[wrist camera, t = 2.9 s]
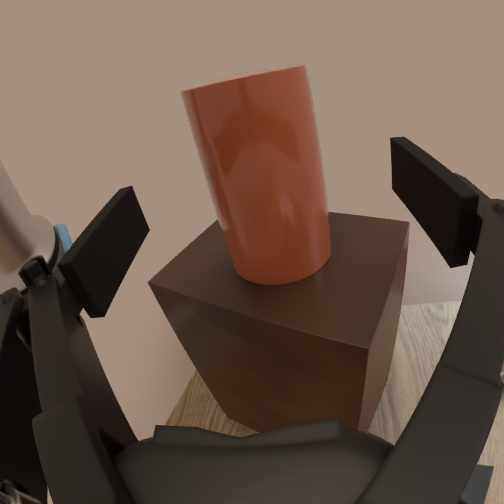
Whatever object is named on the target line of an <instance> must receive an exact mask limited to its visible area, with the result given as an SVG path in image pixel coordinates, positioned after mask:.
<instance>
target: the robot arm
mask: <svg viewBox="0 0 504 504" xmlns="http://www.w3.org/2000/svg"><path fill="white" fill-rule="evenodd" d="M390 143H391V164H392V189H393V191H394V192H395V193H396V194H397V196H398V197H399V198H400V199H401V200H402V202H403V203H404V204H405V205H406V207H407V208H408V209H409V211H410V212H411V213H412V215H413V216H414V217H415V219H416V220H417V221H418V222H419V224H420V225H421V227H422V228H423V229H424V231H425V232H426V233H427V235H428V236H429V237H430V239H431V240H432V242H433V243H434V244H435V246H436V247H437V249H438V250H439V252H440V253H441V255H442V256H443V258H444V259H445V261H446V262H447V264H448V265H449V267H450V268H454V267H458V266H463V265H467V263H468V259H469V254H470V250H471V252H472V253H473V254H474V255H475V258H474V262H473V266H472V269H471V273H470V277H469V280H468V283H467V287H466V290H465V293H464V296H463V299H462V302H461V306H460V308H459V311H458V314H457V317H456V320H455V323H454V325H453V328H452V331H451V333H450V336H449V339H448V341H447V344H446V346H445V349H444V351H443V353H442V356H441V358H440V360H439V363H438V364H437V366H436V368H435V370H434V372H433V375H432V377H431V379H430V381H429V383H428V385H427V387H426V389H425V391H424V393H423V395H422V397H421V399H420V401H419V403H418V405H417V407H416V409H415V411H414V413H413V414H412V416H411V418H410V420H409V422H408V423H407V425H406V427H405V429H404V430H403V432H402V434H401V436H400V437H399V439H398V441H397V442H396V444H395V445H392V444H391V443H389V442H387V441H386V440H384V439H382V438H380V437H378V436H375V435H373V434H370V433H367V432H363V431H359V430H353V429H344V428H341V425H340V417H336V418H329V419H322V420H314V421H306V422H297V423H290V424H287V425H284V426H280V427H277V428H274V429H271V430H267V431H264V432H260V433H257V434H253V435H250V436H246V437H235V436H230V435H226V434H222V433H218V432H213V431H210V430H206V429H202V428H198V427H184V426H163V425H156V426H155V431H154V436H153V437H151V438H147V439H144V440H141V441H138V440H137V438H136V436H135V435H134V433H133V431H132V429H131V427H130V425H129V423H128V421H127V419H126V417H125V415H124V414H123V412H122V410H121V407H120V405H119V403H118V401H117V399H116V397H115V395H114V393H113V391H112V388H111V386H110V384H109V382H108V379H107V377H106V375H105V373H104V370H103V368H102V366H101V363H100V361H99V358H98V356H97V353H96V351H95V348H94V346H93V343H92V341H91V338H90V335H89V333H88V330H87V327H86V324H85V322H84V320H83V318H82V317H81V315H80V312H81V310H82V308H84V309H85V311H86V312H87V314H88V315H89V316H90V318H98V317H105V315H106V313H107V311H108V308H109V306H110V304H111V302H112V300H113V298H114V296H115V294H116V292H117V290H118V288H119V286H120V284H121V282H122V280H123V279H124V277H125V275H126V273H127V271H128V269H129V267H130V265H131V263H132V261H133V260H134V258H135V256H136V254H137V252H138V250H139V248H140V247H141V245H142V243H143V241H144V239H145V238H146V236H147V234H148V232H149V231H150V229H149V227H148V225H147V222H146V220H145V217H144V215H143V212H142V210H141V208H140V205H139V203H138V200H137V198H136V195H135V192H134V190H133V187H132V186H129V187H126V188H122V189H119V191H118V192H117V193H116V194H115V195H114V196H113V197H112V198H111V199H110V201H109V202H108V203H107V204H106V205H105V206H104V207H103V209H102V210H101V211H100V212H99V213H98V214H97V215H96V217H95V218H94V219H93V220H92V221H91V223H90V224H89V225H88V226H87V227H86V228H85V230H84V231H83V232H82V233H81V235H80V236H79V237H78V238H77V240H76V241H75V242H74V243H72V241H71V238H70V236H69V233H68V230H67V228H66V226H65V225H64V224H59V225H55V226H53V227H52V225H51V224H50V222H49V221H48V220H47V219H46V218H44V217H42V216H39V215H31V214H30V212H29V211H28V209H27V207H26V206H25V204H24V202H23V200H22V199H21V197H20V195H19V194H18V192H17V190H16V188H15V186H14V185H13V183H12V181H11V179H10V177H9V176H8V174H7V172H6V170H5V168H4V166H3V164H2V162H1V160H0V504H47V491H48V490H47V489H49V492H50V495H51V498H52V501H53V504H470V503H468V502H467V501H466V500H464V499H463V498H461V496H462V494H463V492H464V490H465V488H466V486H467V484H468V482H469V480H470V478H471V476H472V473H473V471H474V469H475V467H476V465H477V462H478V460H479V458H480V455H481V453H482V451H483V448H484V446H485V443H486V441H487V438H488V435H489V433H490V430H491V427H492V424H493V421H494V418H495V415H496V412H497V409H498V406H499V403H500V399H501V395H502V386H500V385H498V382H499V378H500V374H501V370H502V366H503V362H504V200H500V199H490V198H489V197H488V196H486V195H485V194H484V193H483V192H482V191H481V190H479V189H477V187H476V186H475V185H474V184H472V183H471V182H470V181H469V180H467V179H466V178H465V177H463V176H460V175H458V174H456V173H452V172H451V171H450V170H449V169H447V168H446V167H445V166H444V165H442V164H441V163H440V162H438V161H437V160H436V159H434V158H433V157H432V156H431V155H429V154H428V153H426V152H425V151H424V150H422V149H421V148H419V147H418V146H417V145H415V144H414V143H412V142H411V141H409V140H408V139H407V138H405V137H394V138H390ZM47 486H48V488H47Z"/></svg>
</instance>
